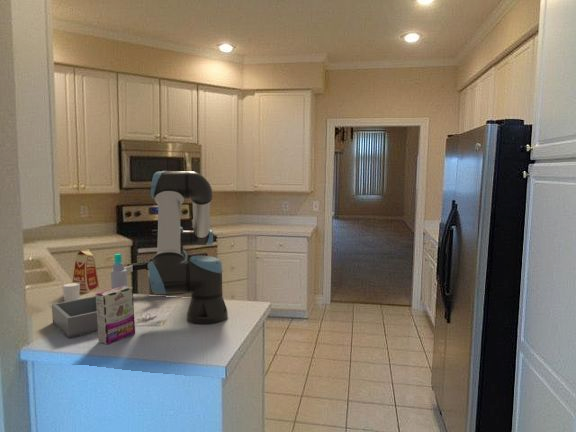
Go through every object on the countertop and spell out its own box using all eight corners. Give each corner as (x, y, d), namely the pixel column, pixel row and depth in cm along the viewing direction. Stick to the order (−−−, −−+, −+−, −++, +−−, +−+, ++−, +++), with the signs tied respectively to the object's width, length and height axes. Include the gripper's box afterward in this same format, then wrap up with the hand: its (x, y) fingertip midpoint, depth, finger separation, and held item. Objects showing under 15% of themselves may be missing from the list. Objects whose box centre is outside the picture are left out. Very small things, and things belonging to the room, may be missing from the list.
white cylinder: (75, 297, 189) (74, 281, 188) (83, 299, 185) (82, 284, 184) (59, 300, 183) (58, 285, 182) (67, 303, 179) (67, 287, 178)
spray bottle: (130, 304, 177) (127, 252, 175) (126, 309, 171) (123, 255, 169) (115, 305, 177) (112, 253, 175) (110, 310, 171) (107, 256, 169)
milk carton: (88, 292, 196) (86, 249, 194) (70, 291, 197) (68, 248, 195) (100, 287, 204) (98, 246, 202) (83, 286, 206) (81, 245, 204)
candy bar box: (126, 331, 149) (124, 285, 147) (135, 334, 146) (133, 287, 144) (97, 342, 139) (94, 292, 137) (106, 345, 137) (104, 295, 135)
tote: (118, 326, 153) (117, 307, 152) (68, 338, 142) (67, 318, 141) (99, 312, 168) (98, 295, 167) (52, 322, 157) (51, 304, 156)
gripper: (187, 272, 199) (160, 283, 179) (142, 268, 207) (111, 279, 186) (187, 256, 198) (160, 266, 178) (141, 253, 206) (110, 262, 186)
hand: (135, 272), depth 182 cm, fingers open, 13 cm apart
